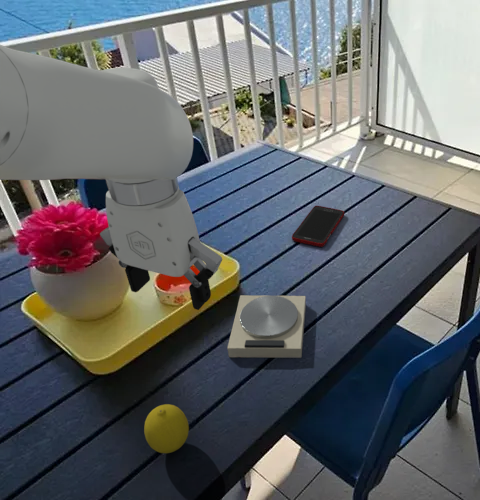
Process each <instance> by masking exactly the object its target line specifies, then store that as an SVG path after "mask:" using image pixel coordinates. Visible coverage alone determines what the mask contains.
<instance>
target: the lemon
mask: <svg viewBox="0 0 480 500" xmlns="http://www.w3.org/2000/svg"><path fill="white" fill-rule="evenodd" d="M143 432H144V438H145V440H146V443H147V444H148V446H149V448H151V449H152V450H154V451H155V452H157V453H160V454H170V453H174V452H176V451H178V450H179V449H180V448H182V447H183V445H184V444H185V443H186V441H187V438H188V437H189V432H190V426H189V420H188V418H187V416H186V414H185V413H184V411H183V410H182V409H181V408H179V407H178V406H176V405H174V404H169V403H165V404H164V403H163V404H161V405H158V406H156V407H155V408H153V409H151V411H150V412H149V413H148V414H147V416H146V418H145V421H144V429H143Z"/></svg>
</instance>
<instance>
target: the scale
mask: <svg viewBox="0 0 480 500" xmlns="http://www.w3.org/2000/svg"><path fill="white" fill-rule="evenodd" d="M306 299H307V298H306V295H250V294H249V295H239V299H238V303H237V307H236V312H235V316H234V320H233V324H232V327H231V332H230V336H229V340H228V344H227V354H228V358H274V359H275V358H277V359H278V358H280V359H281V358H282V359H283V358H285V359H286V358H289V359H291V358H293V359H294V358H296V359H301V358H302V357H303V355H302V354H303V343H304V331H305V319H306V310H307V309H306V308H307V300H306Z"/></svg>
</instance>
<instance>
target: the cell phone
mask: <svg viewBox="0 0 480 500" xmlns="http://www.w3.org/2000/svg"><path fill="white" fill-rule="evenodd" d="M344 217H345V211H344V210H342V209H338V208H332V207H327V206H322V205H314V206H313V207H312V209H311V210H310V211H309V212H308V214H307V215H306V216H305V217H304V219H303V220H302V221H301V223H300V224H299V225H298V227H297V228H296V230H294V232H293V233H292V235H291V240H292V241H293V242H297V243H300V244H301V243H302V244H305V245H309V246H310V245H311V246H314V247H320V248H322V247H323V248H324V246H325V245H326V244H327V242H328V240H329V239H330V238H331V235H333V233H334V232H335V230H336V229H337V227H338V226H339V224H340V223H341V221H342V219H343V218H344Z"/></svg>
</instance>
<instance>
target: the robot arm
mask: <svg viewBox="0 0 480 500" xmlns="http://www.w3.org/2000/svg"><path fill="white" fill-rule="evenodd" d="M193 152H194V134H193V129H192V125H191V122H190V119H189V118H188V115H187V113H186V112H185V110H184V108H183V107H182V106H181V105H180V103H179V102H178V101H177V100H176V99H175V98H174V96H172V95H170V94H169V93H167V92H165V91H164V90H162V89H161V88H159V85H158V83H157V80H156V79H155V77H154V76H153V75H152V74H151V73H149V72H148V71H145V70H144V69H140V68H133V67H113V68H106V69H101V70H99V69H96V68H93V67H92V68H91V67H87V66H82V65H80V64H75V63H72V62H68V61H65V60H61V59H58V58H54V57H50V56H46V55H41V54H36V53H32V52H27V51H22V50H18V49H14V48H10V47H8V46H4V45H2V44H0V181H4V180H5V181H7V180H8V181H52V180H53V181H54V180H55V181H56V180H64V179H65V180H67V179H68V180H70V179H71V180H105V184H106V187H107V189H108V190H107V191H106V193H105V211H106V212H105V213H106V219H107V224H108V227H106V228H105V229H103V230H101V232H100V233H99V236H100V238H101V239H102V240H103V241H104V243H105V244H106V246H109V247H108V250H109V252H110V254H112V255H113V256H114V257H115V258H116V259H117V260H118V265H119V266H120V267H121V268H122V269H124V272H125V275H126V278H127V281H128V285H129V287H130V291H131V292H133V293H137V292H139V291H140V290H141V289H143V287H144V286H145V285H147V284H148V283H149V282H150V281H151V276H150V273H149V272H152V273H156V274H161V275H164V276H167V277H168V276H169V277H173V278H181V277H183V276H184V278H185V279H186V280H187V281H188V282H189V283H190V284H189V286H188V290H189V295H190V300H191V303H192V308H193V309H194V310H196V311H199V310H201V308H202V307H203V306H204V305H205V304H206V303H207V302H208V301H209V300H210V298H211V296H212V291H211V286H210V279H211V278H212V277H213V276H214V275H215V274H216V272H218V270H219V267H220V266H221V263H222V261H223V257H222V256H221V255H220V254H218V253H217V252H216V251H214V250H212V249H211V248H210V247H208V246H207V245H205V244H203V243H202V242H201V240H200V235H199V231H198V228H197V224H196V220H195V218H194V214H193V212H192V209H191V206H190V204H189V201H188V198H187V197H186V195H185V192H184V190H182V189H180V185H179V180H178V177H180V176H181V175H182V174H183V173H184V172H185V171H186V170H187V168H188V166H189V165H190V162H191V159H192V157H193ZM192 266H194V267H195V269H197V270H198V271H199V272H198V273H197V274H196V273H195V272H194V271H193V270H192V269H191V267H192Z"/></svg>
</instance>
